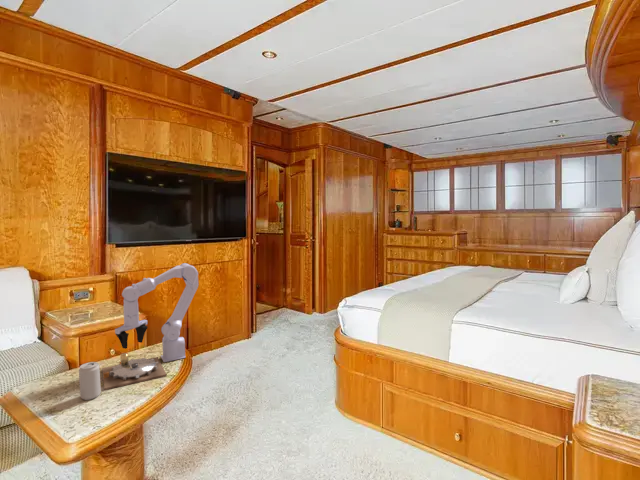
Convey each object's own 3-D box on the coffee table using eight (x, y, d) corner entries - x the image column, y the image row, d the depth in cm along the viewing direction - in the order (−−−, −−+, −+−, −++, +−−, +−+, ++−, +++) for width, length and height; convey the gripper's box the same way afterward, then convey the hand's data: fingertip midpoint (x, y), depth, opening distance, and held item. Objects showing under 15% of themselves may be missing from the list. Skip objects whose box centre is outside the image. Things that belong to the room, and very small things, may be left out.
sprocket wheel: (167, 365, 158) (167, 353, 157) (129, 383, 142) (128, 370, 141) (139, 358, 166) (139, 346, 166) (100, 374, 150) (99, 361, 149)
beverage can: (104, 392, 137) (103, 361, 136) (92, 401, 131) (90, 369, 130) (88, 391, 138) (87, 360, 137) (76, 400, 132) (74, 368, 131)
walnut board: (157, 358, 168) (157, 353, 168) (166, 376, 151) (166, 370, 151) (102, 369, 157) (101, 364, 156) (104, 390, 139) (104, 384, 139)
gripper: (139, 309, 167) (140, 338, 168) (109, 317, 153) (110, 349, 155) (150, 311, 164) (151, 340, 165) (121, 320, 151) (122, 352, 152)
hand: (132, 345), depth 160 cm, fingers open, 7 cm apart
